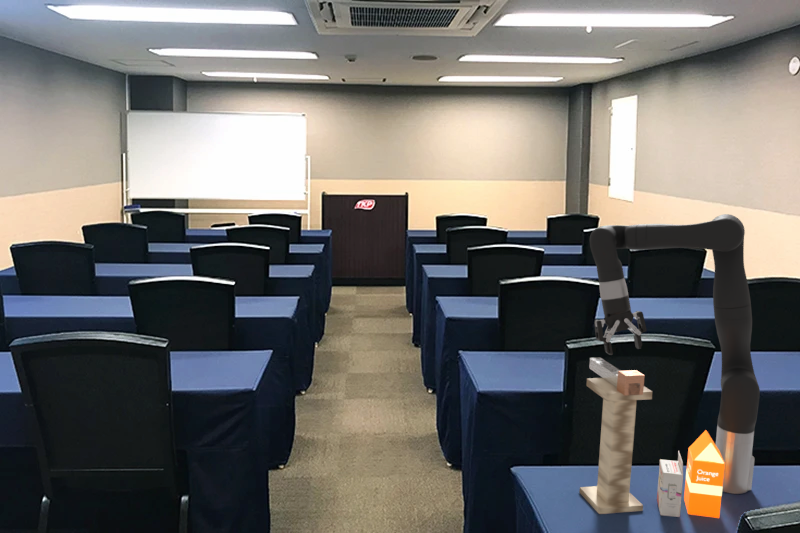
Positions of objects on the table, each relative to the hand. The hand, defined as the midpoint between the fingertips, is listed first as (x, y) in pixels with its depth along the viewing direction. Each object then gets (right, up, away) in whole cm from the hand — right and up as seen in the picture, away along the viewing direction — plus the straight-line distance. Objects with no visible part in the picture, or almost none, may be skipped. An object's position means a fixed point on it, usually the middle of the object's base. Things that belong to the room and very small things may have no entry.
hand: (624, 351), depth 216 cm
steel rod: (-8, -6, -19) cm, 21 cm away
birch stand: (-9, -38, -16) cm, 42 cm away
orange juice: (+14, -39, -19) cm, 45 cm away
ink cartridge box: (+5, -39, -19) cm, 44 cm away
